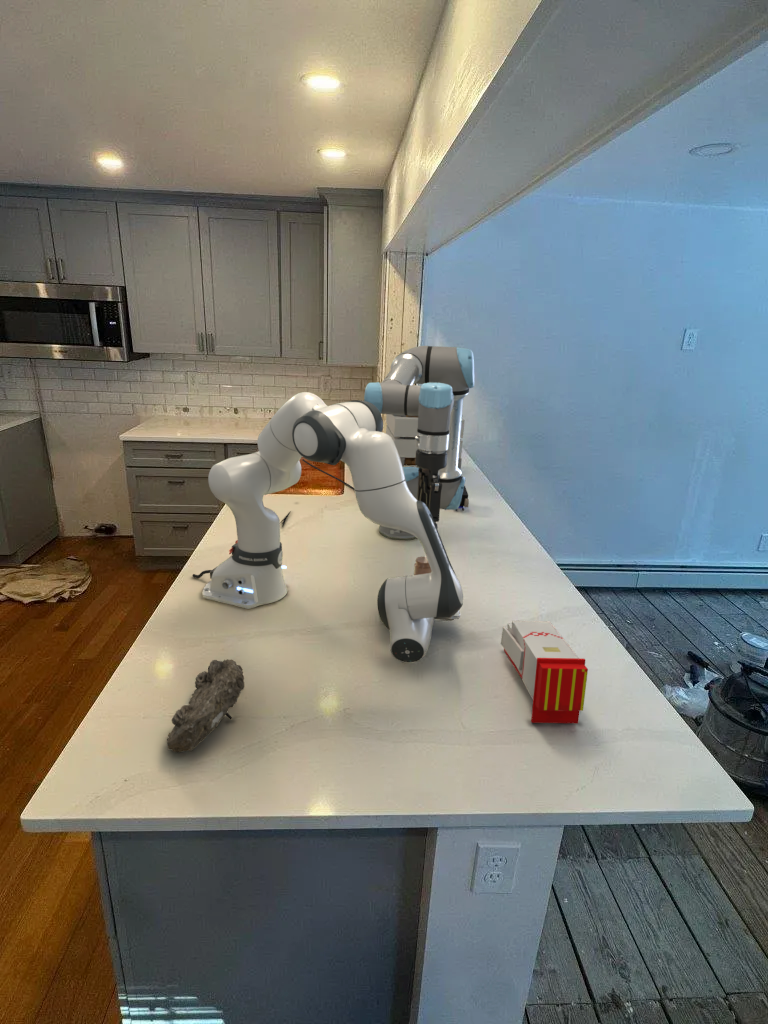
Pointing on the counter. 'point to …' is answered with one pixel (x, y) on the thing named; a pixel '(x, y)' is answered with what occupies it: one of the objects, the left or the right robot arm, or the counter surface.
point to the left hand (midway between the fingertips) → (421, 588)
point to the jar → (422, 566)
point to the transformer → (409, 437)
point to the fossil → (206, 705)
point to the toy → (547, 670)
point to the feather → (285, 518)
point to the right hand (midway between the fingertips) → (425, 539)
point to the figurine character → (464, 499)
